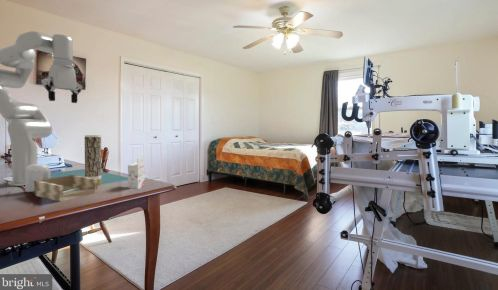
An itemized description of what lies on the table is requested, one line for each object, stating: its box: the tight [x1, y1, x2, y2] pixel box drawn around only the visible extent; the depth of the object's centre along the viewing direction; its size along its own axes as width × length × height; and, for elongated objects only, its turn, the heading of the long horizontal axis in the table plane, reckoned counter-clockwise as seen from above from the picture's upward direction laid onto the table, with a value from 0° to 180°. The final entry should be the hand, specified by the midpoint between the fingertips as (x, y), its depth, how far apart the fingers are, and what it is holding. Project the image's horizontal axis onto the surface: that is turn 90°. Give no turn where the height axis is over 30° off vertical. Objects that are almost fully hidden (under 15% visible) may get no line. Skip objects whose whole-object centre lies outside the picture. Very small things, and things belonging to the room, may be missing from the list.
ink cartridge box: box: [127, 157, 146, 190], centre depth 128 cm, size 9×5×15 cm, turn 0°
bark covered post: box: [84, 134, 102, 187], centre depth 125 cm, size 7×7×25 cm
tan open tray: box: [33, 174, 99, 202], centre depth 109 cm, size 16×15×7 cm
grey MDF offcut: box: [63, 189, 88, 195], centre depth 108 cm, size 3×10×2 cm, turn 161°
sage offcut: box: [63, 188, 80, 194], centre depth 109 cm, size 3×10×2 cm
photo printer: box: [24, 163, 52, 193], centre depth 114 cm, size 10×4×12 cm, turn 81°
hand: (63, 101), depth 120 cm, fingers open, 9 cm apart
